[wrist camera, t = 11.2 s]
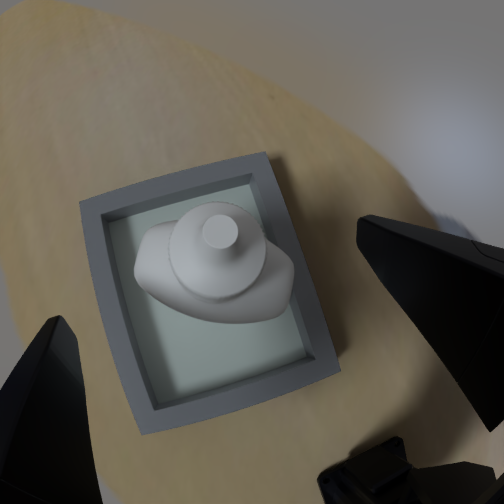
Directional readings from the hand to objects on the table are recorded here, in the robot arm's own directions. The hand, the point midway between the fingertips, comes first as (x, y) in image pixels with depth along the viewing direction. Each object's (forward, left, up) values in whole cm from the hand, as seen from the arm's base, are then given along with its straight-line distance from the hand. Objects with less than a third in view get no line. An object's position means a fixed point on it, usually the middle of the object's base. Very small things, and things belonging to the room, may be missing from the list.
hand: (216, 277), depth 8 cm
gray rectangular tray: (+1, 0, -10) cm, 10 cm away
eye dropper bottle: (+1, 0, -10) cm, 10 cm away
